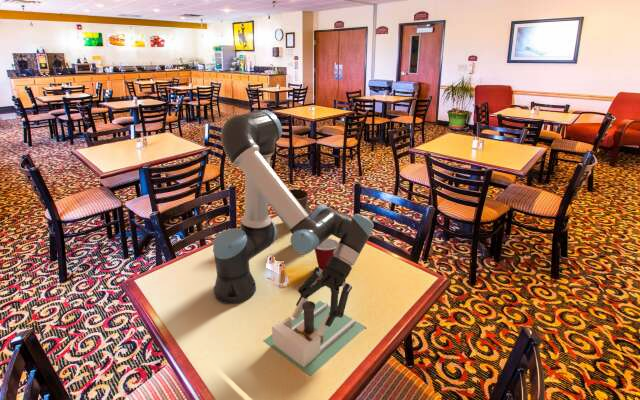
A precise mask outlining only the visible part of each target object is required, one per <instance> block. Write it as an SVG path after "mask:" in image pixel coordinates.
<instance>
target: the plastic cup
mask: <svg viewBox="0 0 640 400" xmlns="http://www.w3.org/2000/svg"><path fill="white" fill-rule="evenodd" d="M338 243H339V241H338V240H336V239H334V238H329V237H328V238H327V239H326V240H325V241H323V242H322V243H321V244H320V245H319V246H318V247H317V248H316V249H314V252H315V256H316V257H315V258H316V263H317V267H318V268H320V269H321V270H324V269H325V268H326V265H327V263H328V261H329V259H330V257H332V256H334V255H333V252H334V250H335V248H336V247H337V245H338Z"/></svg>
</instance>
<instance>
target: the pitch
mask: <svg viewBox="0 0 640 400" xmlns="http://www.w3.org/2000/svg"><path fill="white" fill-rule="evenodd" d="M327 313H328V314H329V313H330V305H329V304H327V303H326V302H323V301H322V300H319V301H317V302H316V303H315V309H314V327H315V328H316V329H319V327H320V325H321V323H322V322H323V320H324V318H325V316H326V314H327ZM303 322H304V311H302V313H301V315H300V316H299V318H298V319H296V318H293V319H292V330H293V331H294V332H296V330H295V328H296V327H297V326H298V325H300V324H301V323H303ZM364 330H367V326H365V325H364V324H362V323H360V322H358V321H357V320H355V319H353V318H352V317H350V316H348V315H346V314H345V313H344V314H343V317H342V318H340V317H336V318H335V319H334V321H333V322H332V324H331V326H330V327H327V329H326V331H325V332H324V334H323V342H321V343H320V349H321V353H320V354H319V355H318V356H317V357H315V358H314V359H313V360H312V361H311V362H310V363H308V364H307V365H306V366H305V367H303V366H301V365H300V364H299V363H297V362H296V361H295V360H293V359H292V358H291V357H289V356H288V355H287V354H285V353H284V352H283V351H281V350H280V349H279V348H277V347H276V346H275V345H273V335H272V334H270V335H269V336H268V337H266V338H265V339H263V340H262V342H264V343H265V344H266V345H268V346H269V347H270V348H272V349H274V351H276V352H277V353H279V354H280V355H281V356H283V357H284V358H285V359H287V360H288V361H289V362H290V363H292V364H293V365H295V366H296V367H297V368H299V369H300V370H301V371H303V372H304V373H305V374H306V375H308V377H312V376H313V375H314V374H315V373H316V372H317V371H318V370H319V369H320V368H322V367H323V366H324V365H326V363H327V362H328V361H330V359H332V358H333V357H334V356H336V354H337V353H338V352H339V351H341V350H342V349H343V348H344V347H346V345H348V343H350V342H351V341H352V340H353V339H354V338H356V336H358V335H359V334H360V333H361V332H362V331H364Z"/></svg>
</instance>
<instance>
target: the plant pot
mask: <svg viewBox="0 0 640 400" xmlns="http://www.w3.org/2000/svg"><path fill="white" fill-rule="evenodd" d="M289 191H290V192H291V193H292V194H293V196H294V197H295V198H296V200H297V201H298V202H299V203H300V205H301V206H302V207H303V208H304V209H307V207H308V201H309V193H308V192H307V190H303V189H298V188H296V189H292V188H291V189H289Z"/></svg>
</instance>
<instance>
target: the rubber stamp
mask: <svg viewBox="0 0 640 400" xmlns="http://www.w3.org/2000/svg"><path fill="white" fill-rule="evenodd" d="M315 304H316V303H315V302H314V301H311V300H308V301H306V302H304V303H303V304H302V309H303V312H304V322H303V323H301V324H300V325H298V326H297V327H296V328H295V330H296V333H297V334H303V335H304V336H305V337H306V340H308V341H309V342H310V341H312V340H313V339H314V338H315V337H317V336H319V337H320V343H321V342H323V336H321V335H318V334H317V331H318V329H316V328H315V327H314V309H315Z"/></svg>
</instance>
